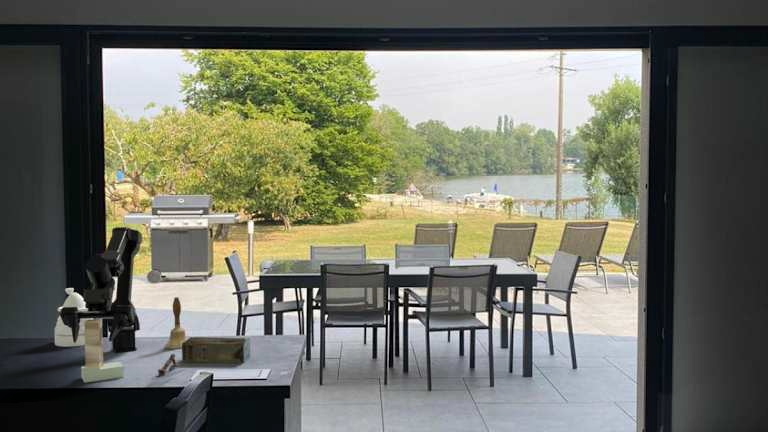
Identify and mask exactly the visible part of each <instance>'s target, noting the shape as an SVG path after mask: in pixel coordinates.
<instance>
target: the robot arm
mask: <svg viewBox="0 0 768 432" xmlns="http://www.w3.org/2000/svg"><path fill="white" fill-rule="evenodd" d="M111 234H112V235H111V237H110V239H109V242H108V245H107V247H106V249H105V251H104V252H102V253H100V254H95V255H94V257H92V258H90V259H88V260H87V261H86V263H85V265H84V267H85V271H86V272H87V276H88V278H89V281H90V283H91V284H93V286H92V288H89V289H87V288H86V289H84V291H83V292H84V293H83V299H84V300H83V301H84V302H86V304H85V307H86V308H88V311H78V309H77V307H63V308H62V309H61V311H60V312H59V314H58V316H59V315H60V317H61V319H62V321H63V323H64V325H66V326H68V327H69V328H71V330H72V336H73V341H74V343H76V341H77V338H78V333H79V329H80V325H79V323H80V319H87V318H93V319H102V320H103V319H106V322H107V323H106V324H107V331H108V333H109V334H108V335H109V336H108V341H109V342H110V344H111V349H112V350H113V351H114V352H115V353H121V352H122V353H123V352H131V351H136V350H138V348H137V347H136V332H137V331H140V330H141V326H140V325H141V323H140V320H139V316H138V314H137V312H136V308H135V305H134V304H133V302H132V290H133V289H132V288H133V276H134V261H135V257H136V255H137V254H138V253H139V252H140V249H141V245H142V243H143V234H142V233H141V232H140V231H139V230H138V229H132V228H131V227H128V226H121V227H120V226H117V227H113V228H112V230H111ZM115 278H117V280H115ZM116 281H117V282H116ZM115 289H116V293H115V300H114V301H113V297H114V291H115Z"/></svg>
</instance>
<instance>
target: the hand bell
mask: <svg viewBox="0 0 768 432" xmlns="http://www.w3.org/2000/svg"><path fill="white" fill-rule="evenodd" d="M181 311H182V305H181V302H180V298H179V296H177V297H174V299H173V302H172V312H173V315H174V327H173V328H172V329H171V330H170V335H169V338H168V341H167V343H166V344H165V346H164V348H165V347H166V349H168V348H169V350H179V349H182V343H183V342H185V341H186V340H188V338H187V335H186V330H185V329H184V328H182V327H181V319H180V315H181ZM170 348H171V349H170Z"/></svg>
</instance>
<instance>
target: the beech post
mask: <svg viewBox="0 0 768 432" xmlns="http://www.w3.org/2000/svg"><path fill="white" fill-rule="evenodd" d="M84 326H85V345H84V353H85V354H84V356H85V357H84V359H85V366H86V370H90V369H100V368H101V367H102V366H103V364H104V343H103V341H104V340H103V339H104V338H103V319H95V318H93V319H88V320H87V321H85V322H84Z"/></svg>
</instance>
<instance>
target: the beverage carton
mask: <svg viewBox="0 0 768 432" xmlns="http://www.w3.org/2000/svg"><path fill="white" fill-rule="evenodd" d="M250 357H251V338H247V337H239V338H238V337H237V338H235V337H210V336H209V337H208V336H207V337H206V336H205V337H204V336H194V337H192V336H190V337H189V338H187V340H186V341H185V342H183V343H182V348H181V358H182V359H181V360H182V361H181V362H182V363H208V364H209V363H210V364H211V363H213V364H214V363H215V364H217V363H218V364H219V363H221V364H222V363H223V364H232V363H233V364H239V363H240V364H241V363H242V364H244V363H245V362H246V361H248V360H249V358H250Z"/></svg>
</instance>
